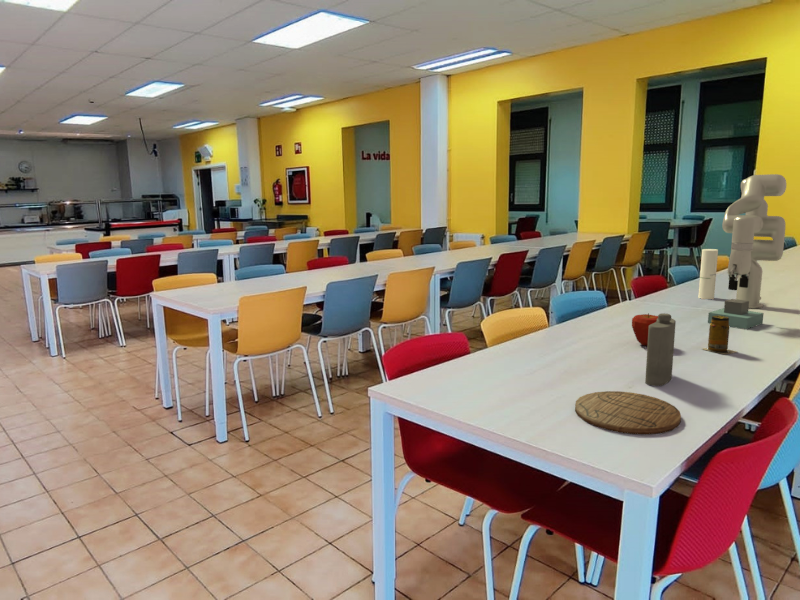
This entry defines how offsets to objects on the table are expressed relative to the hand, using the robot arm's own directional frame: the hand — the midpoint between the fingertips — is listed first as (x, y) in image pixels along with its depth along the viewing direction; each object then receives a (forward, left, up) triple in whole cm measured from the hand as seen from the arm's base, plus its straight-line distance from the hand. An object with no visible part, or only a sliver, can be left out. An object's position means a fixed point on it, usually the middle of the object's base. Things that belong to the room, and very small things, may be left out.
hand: (738, 288), depth 232 cm
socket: (0, 0, -15) cm, 15 cm away
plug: (0, 0, -14) cm, 14 cm away
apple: (+58, -5, -15) cm, 60 cm away
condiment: (+46, +15, -15) cm, 50 cm away
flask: (+90, +18, -15) cm, 93 cm away
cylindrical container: (-46, -34, -15) cm, 59 cm away
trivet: (+121, +27, -15) cm, 125 cm away
